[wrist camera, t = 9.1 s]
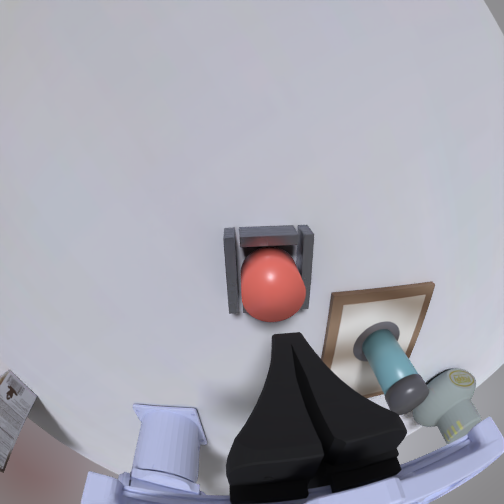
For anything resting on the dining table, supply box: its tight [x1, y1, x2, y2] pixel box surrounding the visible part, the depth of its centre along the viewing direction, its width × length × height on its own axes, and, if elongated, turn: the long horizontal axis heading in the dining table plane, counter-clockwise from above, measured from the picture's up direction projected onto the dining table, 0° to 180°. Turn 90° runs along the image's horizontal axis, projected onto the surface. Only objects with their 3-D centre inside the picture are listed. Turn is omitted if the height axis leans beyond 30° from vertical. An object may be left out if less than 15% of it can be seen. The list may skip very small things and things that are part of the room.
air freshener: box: [413, 368, 481, 444], centre depth 27 cm, size 11×8×10 cm
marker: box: [362, 329, 429, 415], centre depth 21 cm, size 4×4×8 cm
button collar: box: [224, 225, 314, 314], centre depth 21 cm, size 6×6×2 cm
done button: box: [241, 247, 306, 322], centre depth 19 cm, size 4×4×3 cm
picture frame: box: [321, 282, 435, 398], centre depth 26 cm, size 16×11×1 cm
